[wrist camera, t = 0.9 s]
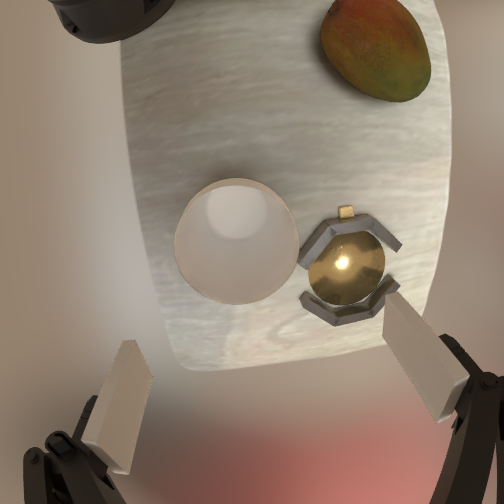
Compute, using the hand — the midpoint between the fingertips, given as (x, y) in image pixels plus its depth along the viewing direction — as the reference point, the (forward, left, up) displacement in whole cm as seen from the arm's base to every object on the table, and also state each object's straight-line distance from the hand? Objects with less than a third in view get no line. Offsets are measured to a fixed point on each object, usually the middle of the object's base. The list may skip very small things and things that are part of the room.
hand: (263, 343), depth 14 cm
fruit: (-19, +16, -20) cm, 31 cm away
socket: (+6, +11, -19) cm, 23 cm away
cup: (-3, -1, -20) cm, 20 cm away
